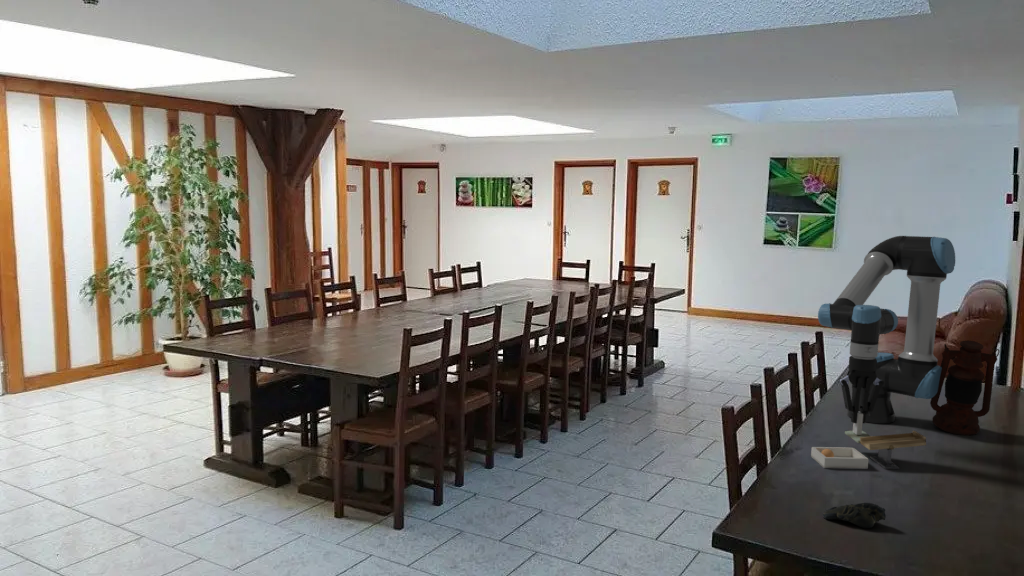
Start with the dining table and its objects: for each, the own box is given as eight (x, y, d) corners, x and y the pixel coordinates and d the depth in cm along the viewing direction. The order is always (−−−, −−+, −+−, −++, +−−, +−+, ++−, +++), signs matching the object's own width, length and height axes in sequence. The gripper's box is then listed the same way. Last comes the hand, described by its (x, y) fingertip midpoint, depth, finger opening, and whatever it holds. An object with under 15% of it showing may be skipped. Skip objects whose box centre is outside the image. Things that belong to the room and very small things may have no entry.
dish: (811, 456, 215) (811, 446, 215) (852, 457, 215) (853, 447, 214) (824, 468, 206) (824, 458, 205) (867, 468, 205) (868, 458, 205)
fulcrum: (869, 457, 215) (871, 441, 214) (883, 458, 214) (884, 441, 214) (884, 468, 206) (886, 452, 205) (899, 469, 206) (900, 452, 205)
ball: (830, 458, 212) (818, 458, 212) (830, 446, 211) (818, 447, 212) (836, 462, 208) (823, 463, 208) (836, 451, 208) (823, 451, 208)
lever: (844, 433, 221) (844, 426, 221) (898, 429, 221) (898, 421, 221) (869, 451, 206) (869, 443, 205) (927, 446, 205) (927, 438, 205)
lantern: (930, 431, 240) (945, 349, 230) (923, 411, 252) (937, 332, 242) (990, 439, 234) (1009, 355, 224) (980, 418, 246) (997, 338, 236)
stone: (822, 512, 177) (823, 492, 176) (883, 521, 172) (884, 499, 171) (823, 524, 170) (824, 502, 170) (886, 533, 165) (887, 511, 165)
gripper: (847, 358, 211) (840, 436, 214) (891, 360, 211) (884, 437, 214) (835, 353, 219) (830, 429, 221) (878, 354, 219) (872, 430, 221)
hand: (857, 433), depth 218 cm, fingers closed
